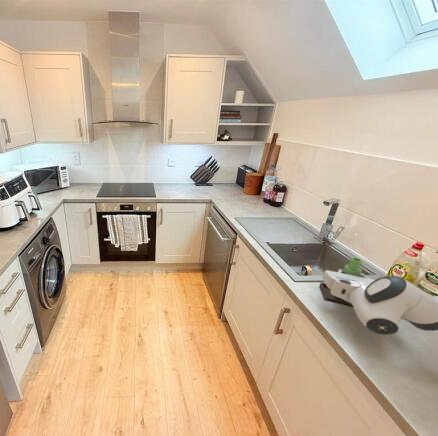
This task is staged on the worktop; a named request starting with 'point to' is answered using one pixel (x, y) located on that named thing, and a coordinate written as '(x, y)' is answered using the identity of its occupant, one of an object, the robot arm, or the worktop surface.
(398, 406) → the worktop surface
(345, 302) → the tray
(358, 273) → the soap bottle
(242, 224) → the worktop surface
